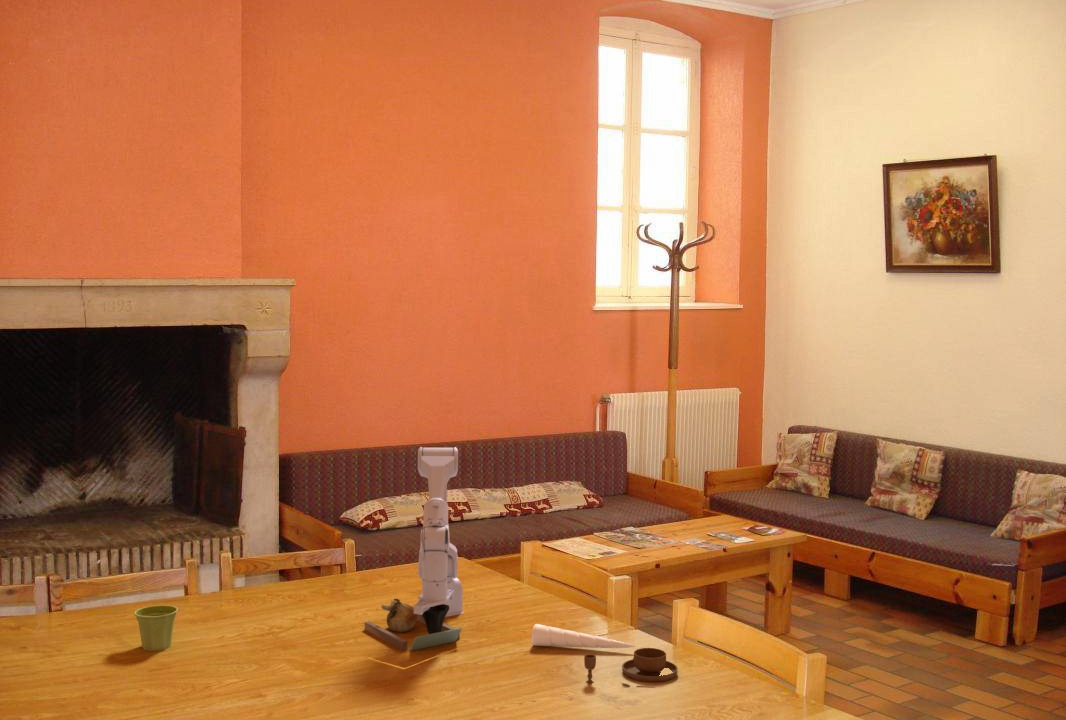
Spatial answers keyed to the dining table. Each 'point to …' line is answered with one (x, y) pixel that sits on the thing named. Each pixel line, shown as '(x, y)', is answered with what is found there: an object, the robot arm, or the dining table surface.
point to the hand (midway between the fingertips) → (434, 637)
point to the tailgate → (435, 639)
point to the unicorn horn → (571, 639)
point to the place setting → (640, 666)
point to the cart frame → (393, 638)
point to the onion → (400, 616)
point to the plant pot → (156, 626)
